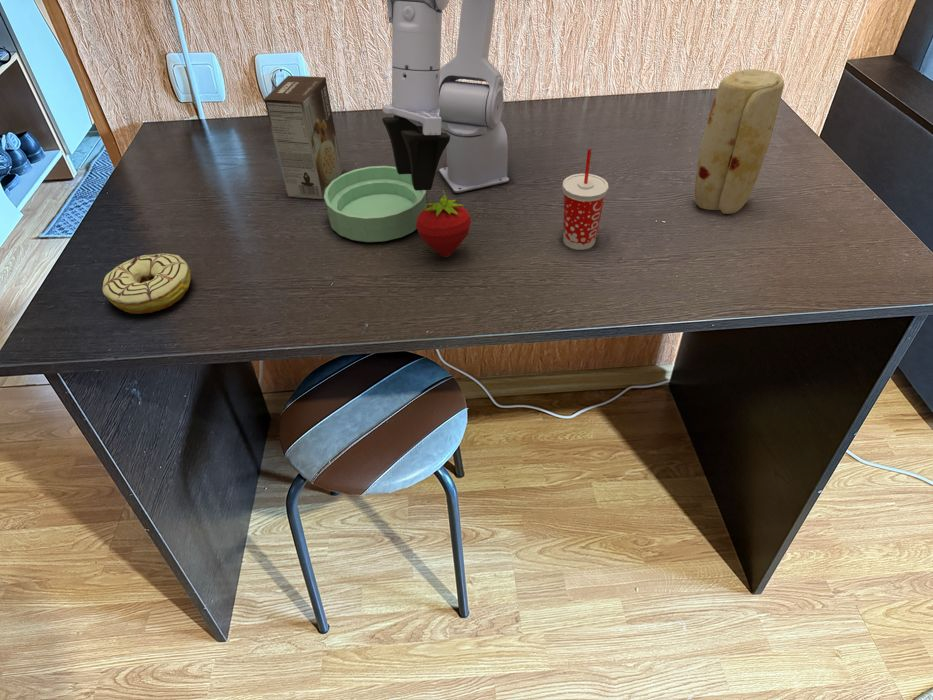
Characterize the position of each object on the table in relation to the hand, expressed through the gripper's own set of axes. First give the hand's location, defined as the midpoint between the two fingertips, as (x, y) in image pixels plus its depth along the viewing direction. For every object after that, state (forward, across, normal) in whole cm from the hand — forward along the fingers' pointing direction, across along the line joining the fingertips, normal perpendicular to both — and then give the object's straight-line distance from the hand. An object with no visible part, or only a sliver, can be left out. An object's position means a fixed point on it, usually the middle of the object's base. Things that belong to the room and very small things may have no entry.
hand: (413, 181), depth 84 cm
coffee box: (+8, -27, -8) cm, 29 cm away
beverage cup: (+9, +4, +24) cm, 26 cm away
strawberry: (+11, 0, +5) cm, 12 cm away
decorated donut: (+16, -8, -34) cm, 38 cm away
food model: (+5, +4, +48) cm, 48 cm away
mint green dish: (+9, -14, -1) cm, 16 cm away
